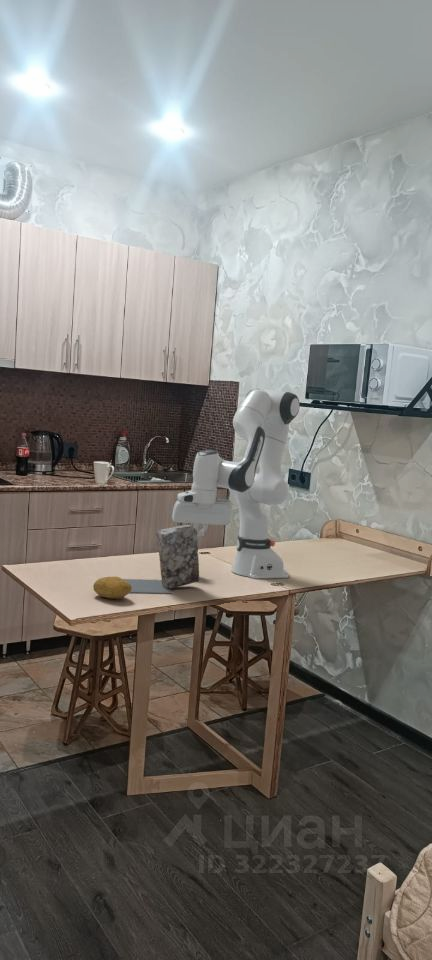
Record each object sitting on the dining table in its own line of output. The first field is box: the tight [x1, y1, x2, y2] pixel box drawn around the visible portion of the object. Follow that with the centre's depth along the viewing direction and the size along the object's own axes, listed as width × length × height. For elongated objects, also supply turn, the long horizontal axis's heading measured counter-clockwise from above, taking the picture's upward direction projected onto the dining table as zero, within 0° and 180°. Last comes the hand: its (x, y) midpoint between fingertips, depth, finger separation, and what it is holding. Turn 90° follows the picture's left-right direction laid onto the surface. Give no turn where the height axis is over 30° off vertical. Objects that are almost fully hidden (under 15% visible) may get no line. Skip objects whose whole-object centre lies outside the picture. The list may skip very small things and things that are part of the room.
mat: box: [122, 578, 173, 595], centre depth 244 cm, size 19×16×1 cm
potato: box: [92, 576, 132, 600], centre depth 228 cm, size 9×13×7 cm
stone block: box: [156, 524, 200, 590], centre depth 246 cm, size 13×7×20 cm, turn 124°
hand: (199, 536), depth 246 cm, fingers closed
